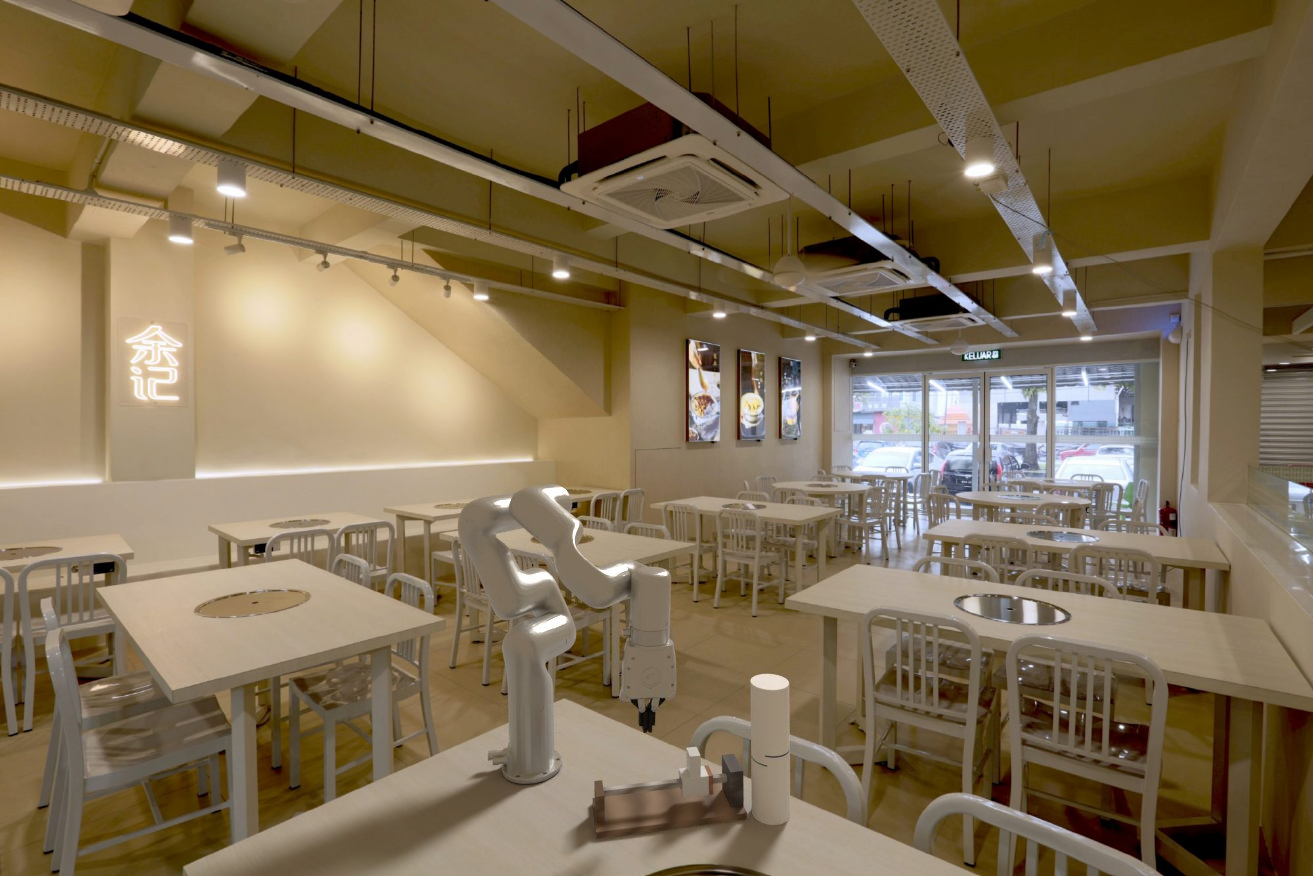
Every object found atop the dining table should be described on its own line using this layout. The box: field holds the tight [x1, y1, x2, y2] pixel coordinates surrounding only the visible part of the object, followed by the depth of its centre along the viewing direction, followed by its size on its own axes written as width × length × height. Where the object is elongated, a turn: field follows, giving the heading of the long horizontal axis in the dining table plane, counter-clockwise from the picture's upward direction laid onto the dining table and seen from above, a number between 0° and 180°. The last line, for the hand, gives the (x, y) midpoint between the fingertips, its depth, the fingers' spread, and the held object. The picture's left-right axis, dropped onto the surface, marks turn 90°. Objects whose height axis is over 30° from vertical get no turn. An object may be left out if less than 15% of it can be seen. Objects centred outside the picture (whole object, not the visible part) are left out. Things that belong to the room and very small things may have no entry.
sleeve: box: [678, 746, 709, 798], centre depth 115 cm, size 5×4×8 cm
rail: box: [592, 753, 748, 840], centre depth 115 cm, size 28×10×8 cm, turn 100°
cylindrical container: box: [749, 673, 791, 826], centre depth 114 cm, size 7×7×25 cm
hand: (646, 728), depth 114 cm, fingers closed
